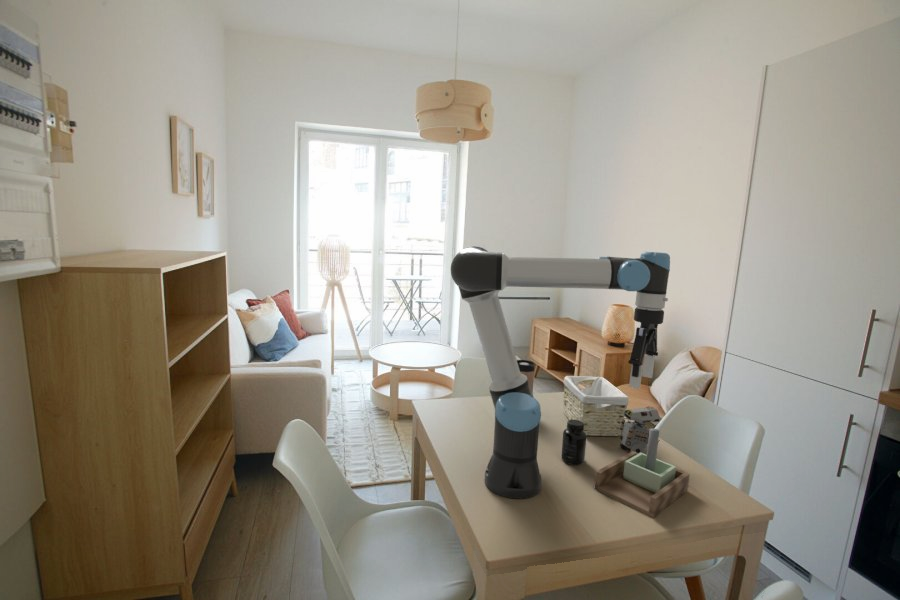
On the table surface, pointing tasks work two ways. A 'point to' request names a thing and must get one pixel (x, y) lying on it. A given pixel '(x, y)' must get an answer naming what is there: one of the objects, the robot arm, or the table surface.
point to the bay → (639, 488)
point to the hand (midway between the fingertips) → (641, 382)
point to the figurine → (637, 428)
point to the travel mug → (527, 371)
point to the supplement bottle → (574, 443)
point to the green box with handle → (649, 467)
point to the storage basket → (595, 405)
